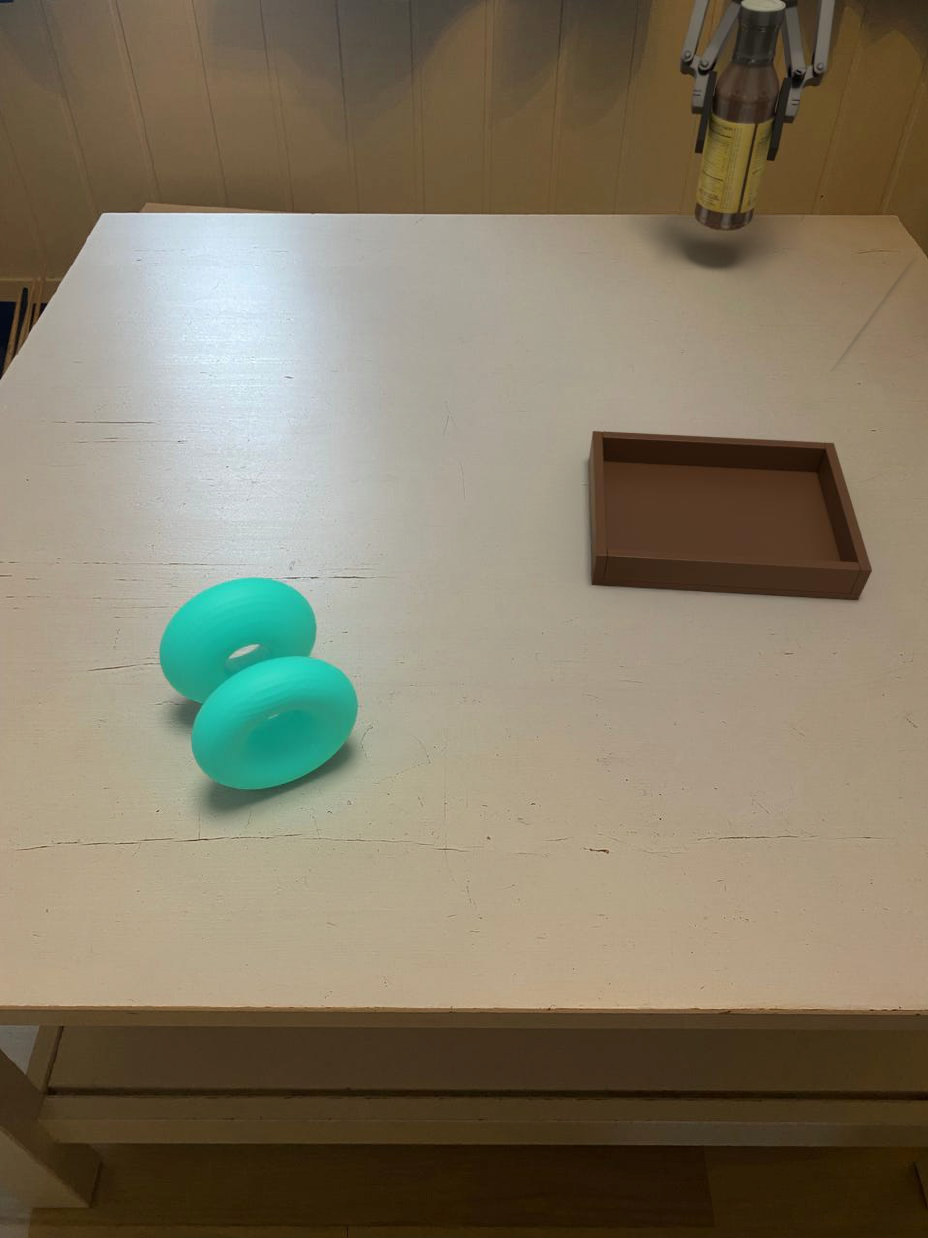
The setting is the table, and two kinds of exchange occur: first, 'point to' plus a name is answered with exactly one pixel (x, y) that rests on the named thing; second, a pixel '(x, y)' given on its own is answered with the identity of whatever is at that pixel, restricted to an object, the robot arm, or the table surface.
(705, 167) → the sauce bottle
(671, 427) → the table surface
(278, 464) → the table surface
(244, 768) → the donuts
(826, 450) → the serving tray
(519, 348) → the table surface
